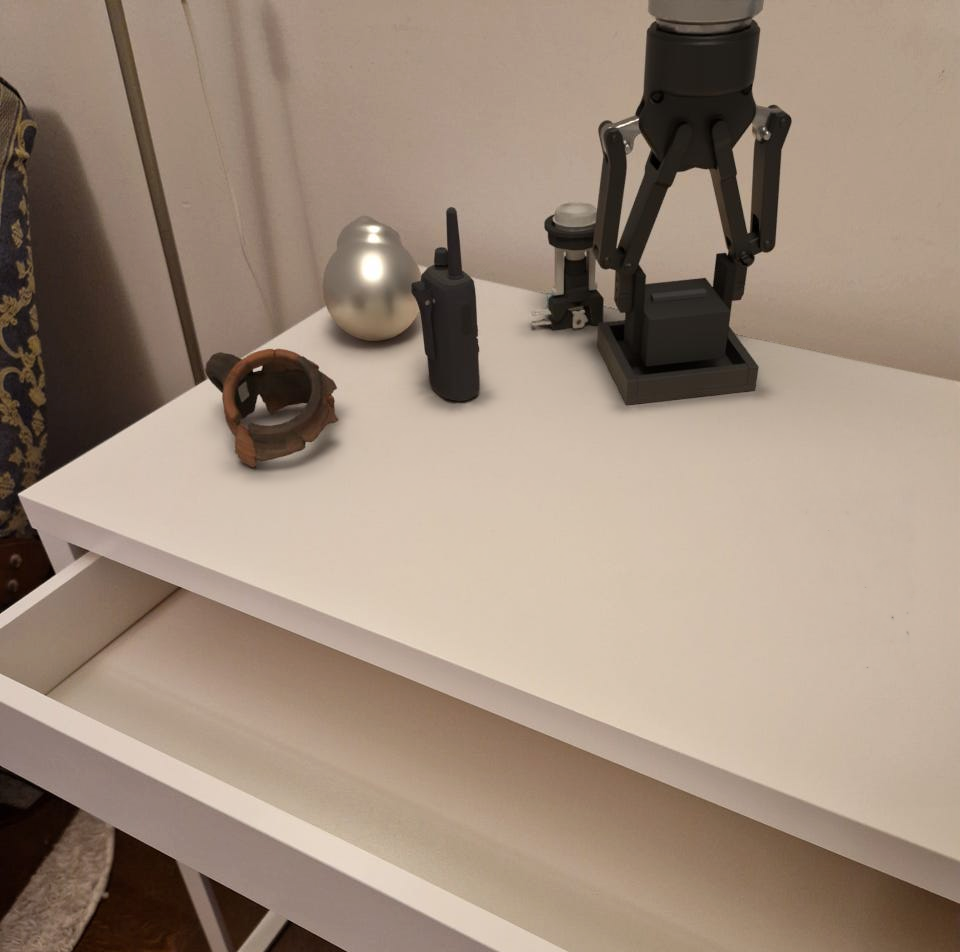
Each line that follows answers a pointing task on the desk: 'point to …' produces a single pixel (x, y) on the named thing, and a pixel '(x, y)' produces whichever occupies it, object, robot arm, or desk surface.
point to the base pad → (674, 370)
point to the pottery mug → (272, 400)
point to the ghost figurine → (371, 281)
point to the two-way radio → (449, 320)
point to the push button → (572, 269)
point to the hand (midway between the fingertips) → (674, 341)
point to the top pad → (683, 323)
